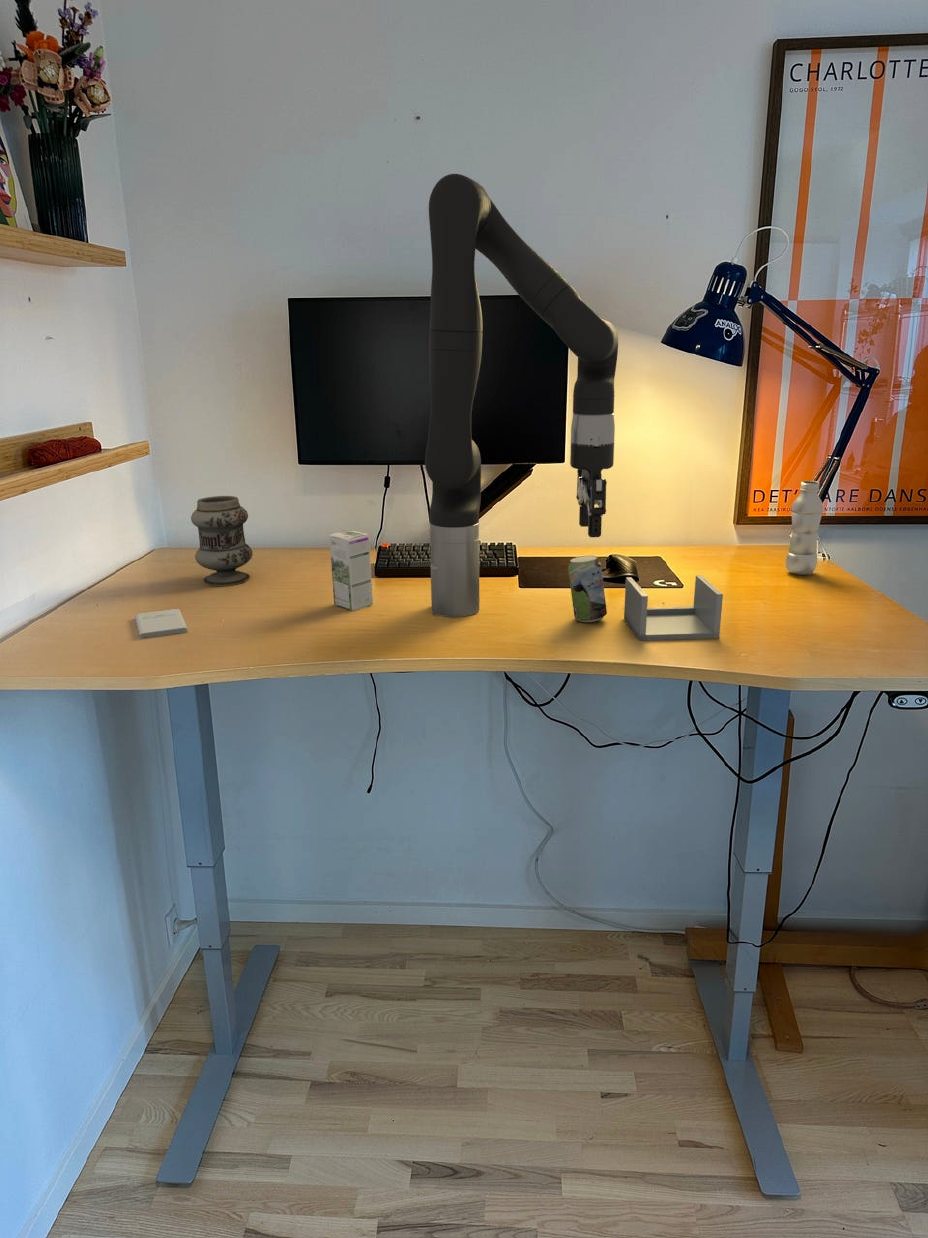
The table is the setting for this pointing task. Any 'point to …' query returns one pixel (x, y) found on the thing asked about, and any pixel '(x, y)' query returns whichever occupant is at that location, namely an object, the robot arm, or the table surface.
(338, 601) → the syrup box
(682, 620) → the holder
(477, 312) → the robot arm
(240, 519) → the apothecary jar
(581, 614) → the beverage can
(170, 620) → the external hard drive
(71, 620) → the table surface
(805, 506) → the plastic bottle
